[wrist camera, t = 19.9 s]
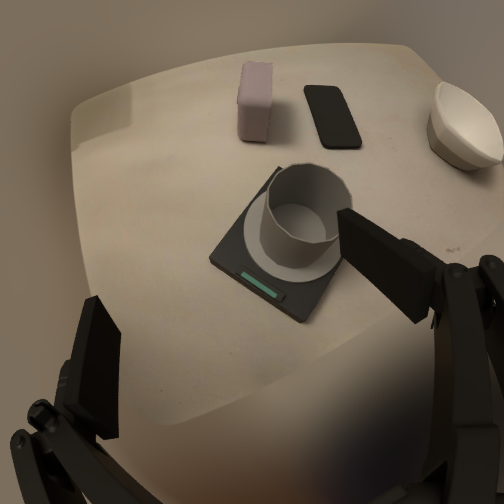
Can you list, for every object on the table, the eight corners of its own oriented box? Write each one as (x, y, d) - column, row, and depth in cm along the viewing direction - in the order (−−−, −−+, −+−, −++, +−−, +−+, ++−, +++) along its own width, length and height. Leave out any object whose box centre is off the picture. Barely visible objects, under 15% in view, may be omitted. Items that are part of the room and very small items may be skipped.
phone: (339, 86, 49) (364, 146, 45) (338, 89, 50) (362, 149, 46) (302, 84, 48) (323, 146, 44) (301, 87, 49) (322, 149, 45)
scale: (299, 323, 38) (306, 321, 34) (210, 263, 39) (207, 254, 35) (356, 228, 42) (366, 217, 38) (276, 176, 43) (279, 161, 39)
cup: (250, 257, 36) (255, 227, 26) (268, 197, 38) (278, 153, 28) (318, 276, 35) (346, 253, 26) (331, 216, 38) (358, 178, 28)
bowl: (415, 99, 51) (433, 71, 42) (475, 135, 50) (497, 113, 41) (413, 155, 46) (438, 125, 37) (481, 195, 45) (510, 174, 36)
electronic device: (240, 100, 47) (241, 57, 38) (267, 102, 48) (272, 59, 38) (235, 143, 45) (235, 99, 35) (265, 145, 45) (271, 102, 35)
